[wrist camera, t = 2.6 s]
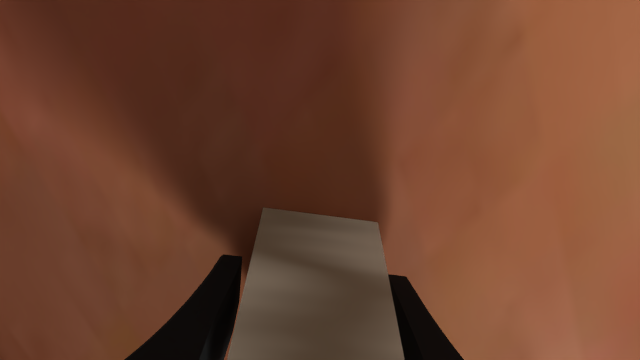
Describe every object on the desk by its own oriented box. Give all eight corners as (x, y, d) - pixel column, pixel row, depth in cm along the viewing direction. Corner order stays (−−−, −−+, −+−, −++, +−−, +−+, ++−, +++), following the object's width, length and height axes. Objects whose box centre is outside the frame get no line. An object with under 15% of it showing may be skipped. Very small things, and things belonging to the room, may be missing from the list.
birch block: (255, 291, 16) (221, 459, 11) (263, 207, 14) (226, 362, 9) (355, 303, 16) (371, 472, 11) (377, 222, 14) (409, 381, 9)
